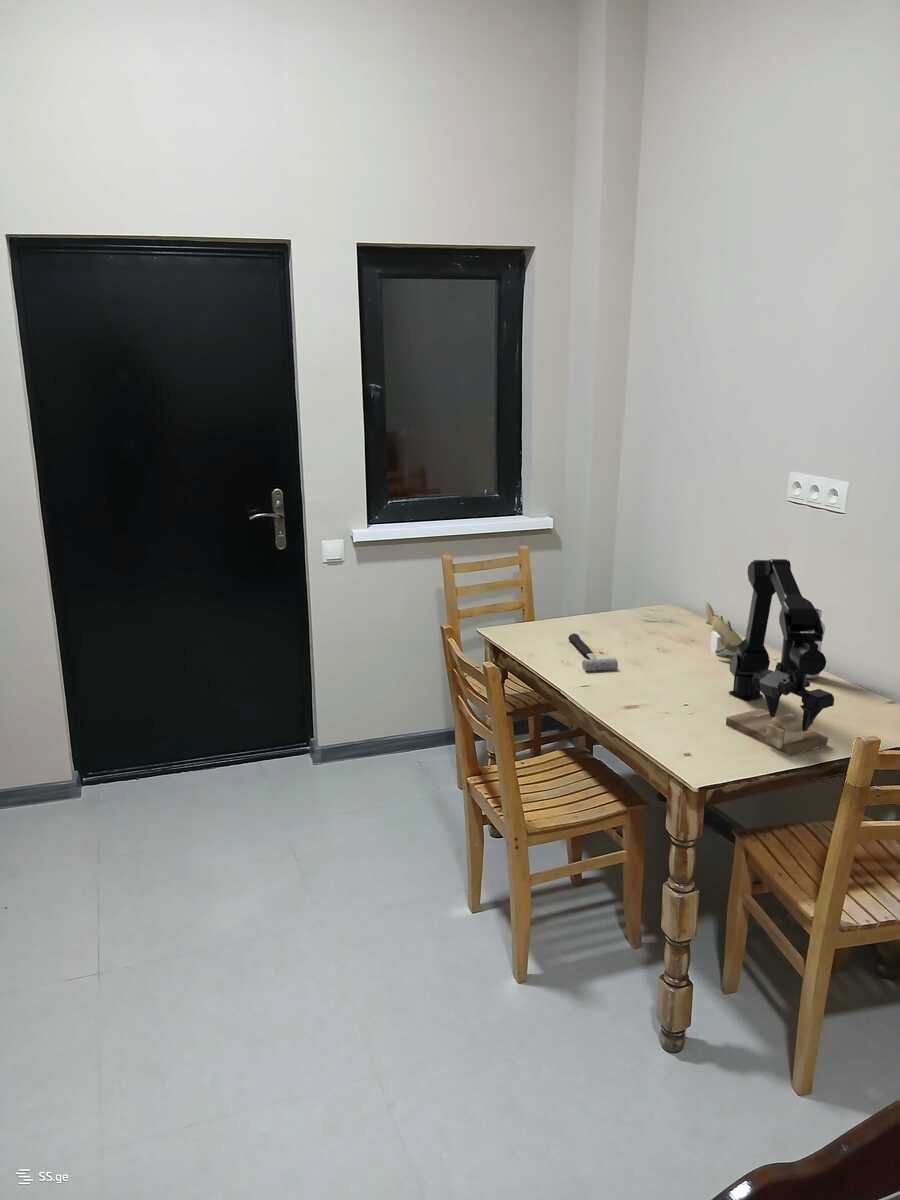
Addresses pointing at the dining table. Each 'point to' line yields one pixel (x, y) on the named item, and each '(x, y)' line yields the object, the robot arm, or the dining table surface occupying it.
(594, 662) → the rubber mallet
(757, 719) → the walnut board
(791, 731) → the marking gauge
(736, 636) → the wood carving
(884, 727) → the dining table surface
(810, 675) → the plastic bottle
